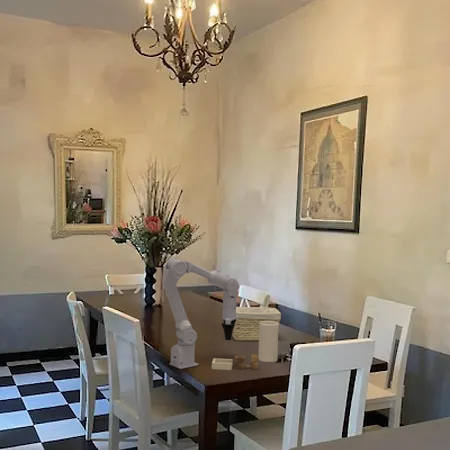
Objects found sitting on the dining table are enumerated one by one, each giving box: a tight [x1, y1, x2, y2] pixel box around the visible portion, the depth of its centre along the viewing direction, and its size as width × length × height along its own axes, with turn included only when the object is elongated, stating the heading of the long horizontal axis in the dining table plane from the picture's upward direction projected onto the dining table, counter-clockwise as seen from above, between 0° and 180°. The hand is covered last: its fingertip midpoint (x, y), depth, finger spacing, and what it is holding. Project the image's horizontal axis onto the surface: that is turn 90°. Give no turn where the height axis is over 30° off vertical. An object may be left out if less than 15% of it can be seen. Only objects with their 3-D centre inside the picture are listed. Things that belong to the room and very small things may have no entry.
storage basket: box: [231, 306, 282, 342], centre depth 270 cm, size 24×16×15 cm
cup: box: [258, 321, 280, 363], centre depth 231 cm, size 8×8×16 cm
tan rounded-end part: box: [233, 353, 259, 371], centre depth 217 cm, size 9×4×6 cm, turn 82°
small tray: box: [211, 357, 234, 371], centre depth 218 cm, size 8×7×2 cm
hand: (228, 337), depth 227 cm, fingers open, 7 cm apart
